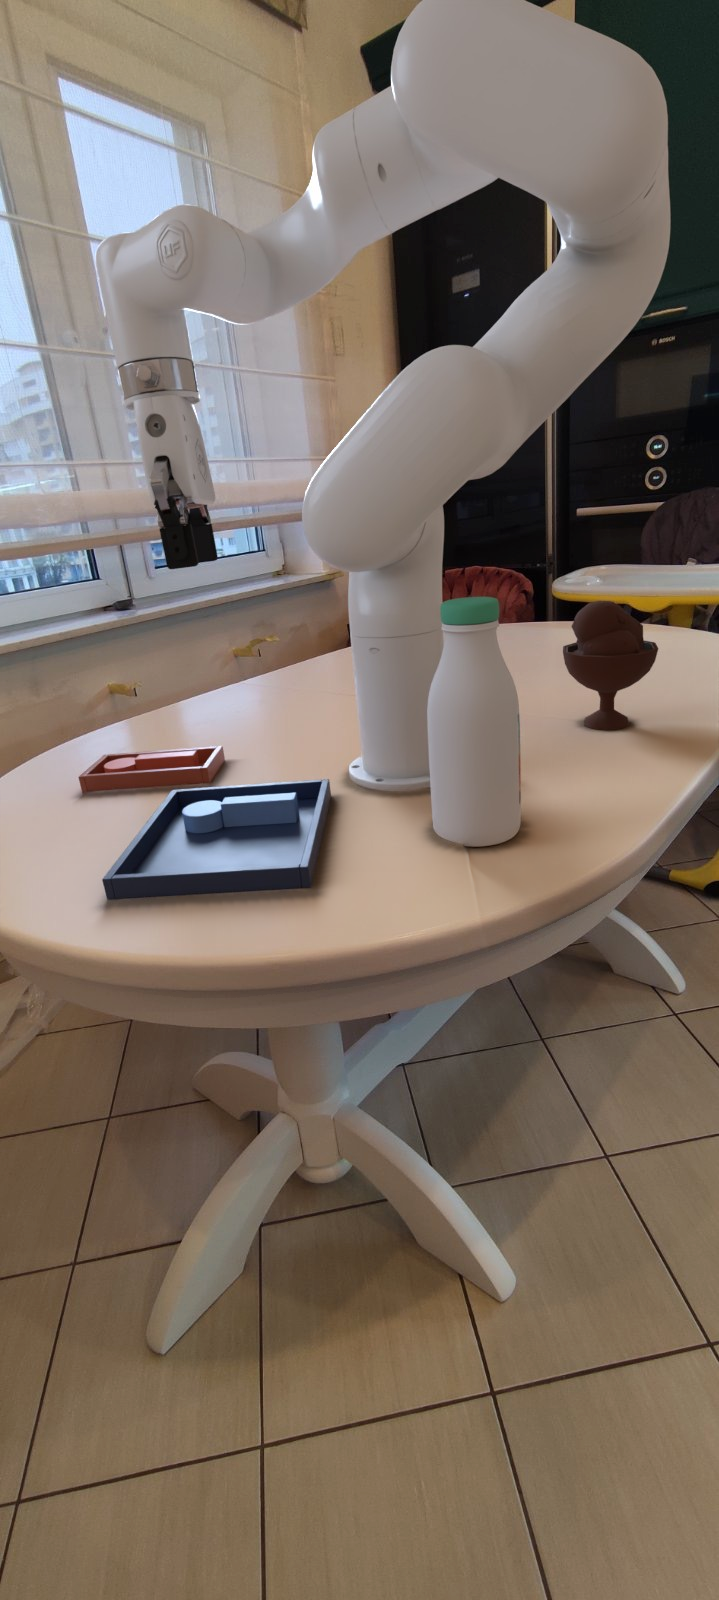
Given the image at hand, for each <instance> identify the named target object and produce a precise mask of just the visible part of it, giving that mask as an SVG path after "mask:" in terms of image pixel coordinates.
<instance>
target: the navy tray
mask: <svg viewBox="0 0 719 1600" xmlns="http://www.w3.org/2000/svg"><path fill="white" fill-rule="evenodd" d="M330 782H331V781H330V779H329V778H324V779H310V780H309V779H308V780H296V781H281V782H266V783H265V782H264V783H252V784H251V783H250V784H238V785H235V784H234V785H224V786H223V785H221V786H208V787H195V788H180V789H171V790H170V792H169V793H168V794H167V796H166V797H165V798H164V799H163V801H162V802H161V804H160V805H159V806H158V807H157V808H156V810H155V811H154V812H153V814H152V815H151V816H150V817H149V819H148V820H147V821H146V822H145V824H144V825H143V827H142V828H141V829H140V830H139V832H138V833H137V834H136V835H135V837H133V840H132V841H131V842H130V843H129V845H127V847H126V848H125V849H124V850H123V852H122V853H121V854H120V856H119V857H118V858H117V860H116V861H115V862H114V863H113V864H112V866H111V867H110V869H108V871H107V873H106V874H105V875H104V876H103V877H102V878H101V881H102V884H103V889H104V892H105V896H106V900H107V901H109V900H111V901H112V900H127V899H130V900H131V899H145V898H147V899H148V898H162V897H180V896H181V897H182V896H196V895H198V896H199V895H214V894H231V893H249V892H264V891H265V892H266V891H283V890H301V889H311V888H312V885H313V879H314V875H315V871H316V866H317V862H318V857H319V852H320V848H321V844H322V839H323V834H324V831H325V825H326V821H327V818H328V817H327V816H328V812H329V807H330V802H331V798H332V792H331V791H332V790H331V783H330ZM283 793H296V794H297V802H298V809H299V817H298V821H297V823H284V824H269V825H253V826H238V827H224V826H223V827H222V828H220V829H218V830H216V831H212V832H208V833H200V834H196V833H190V832H188V831H186V829H185V825H184V820H183V815H182V810H183V809H184V808H185V807H186V806H188V805H190V804H193V803H196V802H200V801H207V800H215V801H220V802H222V801H223V800H224V798H225V797H239V796H254V795H269V794H283Z"/></svg>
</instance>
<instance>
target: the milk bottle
mask: <svg viewBox="0 0 719 1600" xmlns="http://www.w3.org/2000/svg"><path fill="white" fill-rule="evenodd" d="M440 615H441V621H442V627H441V629H442V630H443V635H444V647H443V652H442V656H441V659H440V662H439V665H438V668H437V670H436V673H435V675H434V678H433V681H432V684H431V687H430V691H429V697H428V707H427V719H428V748H429V768H430V787H429V788H430V802H431V818H432V829H433V831H434V833H436V834H437V836H439V837H440V838H442V839H444V840H446V841H449V842H453V843H458V844H462V845H463V847H474V848H475V847H489V846H493V845H499V844H502V843H505V842H507V841H509V840H511V839H513V837H515V836H516V835H517V834H518V832H519V831H520V828H521V822H522V821H521V819H522V817H521V815H522V806H521V805H522V795H521V794H522V790H521V787H522V784H521V783H522V782H521V781H522V780H521V778H522V777H521V776H522V775H521V774H522V773H521V772H522V771H521V769H522V768H521V721H520V704H519V703H520V702H519V696H518V692H517V686H516V684H515V680H514V678H513V676H512V673H511V671H510V669H509V667H508V666H507V663H506V662H505V659H504V657H503V654H502V650H501V648H500V644H499V641H498V635H497V631H498V627H499V626H500V622H499V618H500V602H499V600H498V599H497V597H492V596H469V597H468V596H467V597H459V598H451V599H448V600H445V601H442V604H441V607H440Z"/></svg>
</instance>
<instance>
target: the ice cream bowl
mask: <svg viewBox="0 0 719 1600" xmlns="http://www.w3.org/2000/svg"><path fill="white" fill-rule="evenodd" d="M571 629H572V631H573V634H574V635H575V638H576V642H573V643H570V644H569V643H568V644H565V645H563V646H562V655H563V660H564V665H565V667H566V670H567V671H568V674H569V675H570V676H571V677H573V679H575V681H576V682H577V683H579V684H580V685H582V686H583V687H585V688H587V689H590V690H592V691H595V692H597V694H598V696H599V698H600V699H599V709H598V710H596V711H595V712H592V713H591V714H590V715H587V716H586V717H584V720H583V726H584V727H586V728H589V729H591V730H601V731H613V730H622V729H625V728H626V727H629V726H630V721H629V717H628V716H626V715H625V714H623V713H622V712H620V711H617V710H616V709H615V697H616V696H617V693H618V692H619V691H622V690H625V689H628V688H629V687H632V686H633V685H635V684H636V683H638V682H639V681H640V680H642V679H643V678H644V677H645V676H646V675H647V674H648V673H649V672H650V671H651V670H652V668H653V666H654V664H655V662H656V659H657V655H658V652H659V647H658V645H657V642H655V641H649V640H645V639H644V624H642V623H641V622H640V621H639V620H638V619H636V618H634V617H633V616H632V615H631V614H630V613H629V612H626V611H625V610H624V609H623V607H622V606H621V605H619V604H617V603H615V601H611V600H596V601H593V602H589V603H587V604H586V605H585V606H583V607H582V608H580V609H579V611H578V612H577V613H576V614H575V617H574V619H573V622H572V624H571Z"/></svg>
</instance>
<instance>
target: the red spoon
mask: <svg viewBox="0 0 719 1600" xmlns="http://www.w3.org/2000/svg"><path fill="white" fill-rule="evenodd" d="M198 766H200V765H199V759H198V754H197V751H183V752H170V753H156V754H142V755H139V756H138V757H137V758H121V759H116V760H113V761H110V762H108V763H106V764H105V765H104V770H105V773H114V772H128V771H142V770H156V769H170V768H184V767H198Z"/></svg>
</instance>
